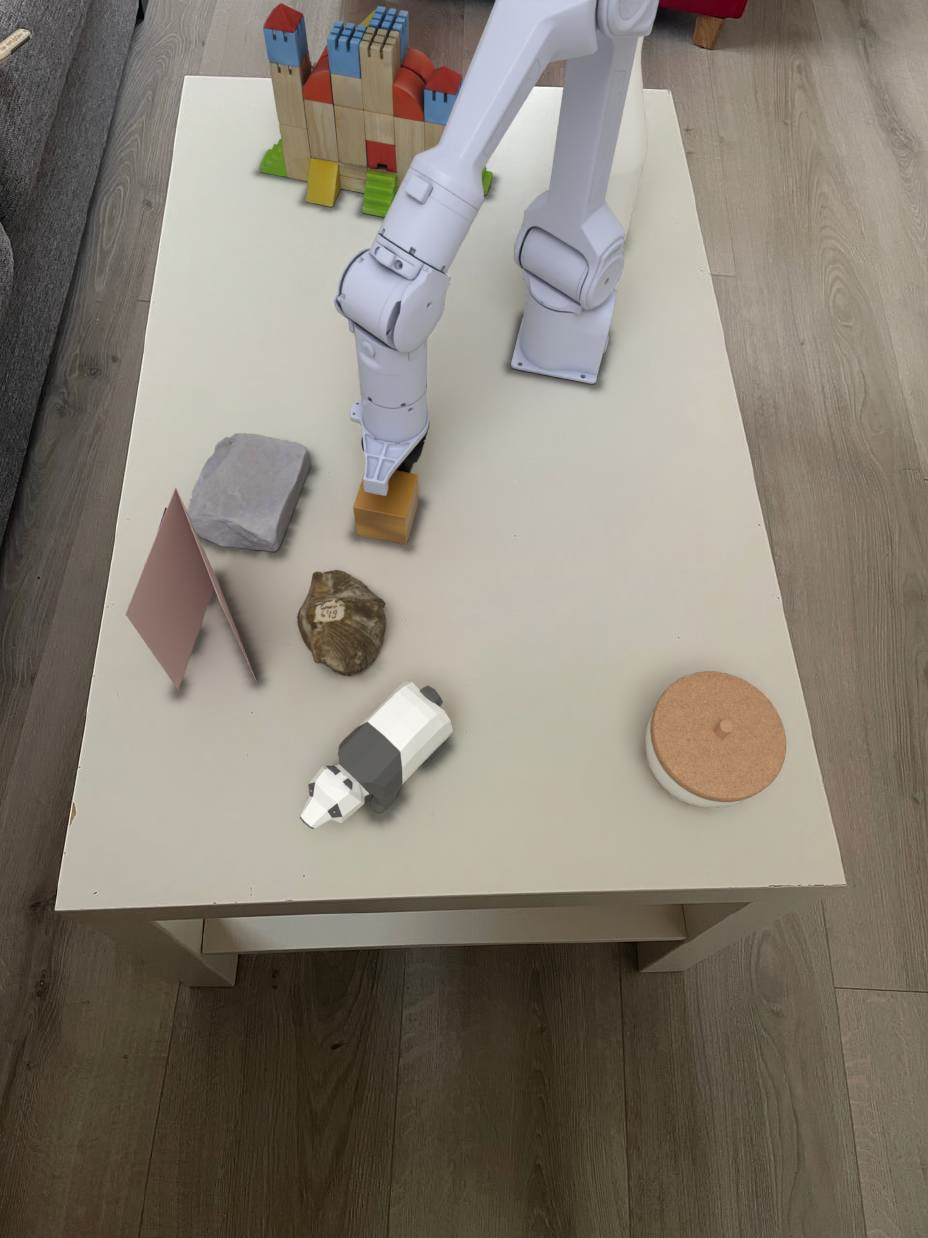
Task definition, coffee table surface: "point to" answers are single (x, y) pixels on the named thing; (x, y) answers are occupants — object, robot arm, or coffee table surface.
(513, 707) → the coffee table surface
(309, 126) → the block set
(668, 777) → the trinket box
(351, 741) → the giant panda
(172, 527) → the greeting card
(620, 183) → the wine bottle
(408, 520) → the ochre block
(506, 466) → the coffee table surface
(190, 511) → the stone block
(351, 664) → the fossilized seashell
